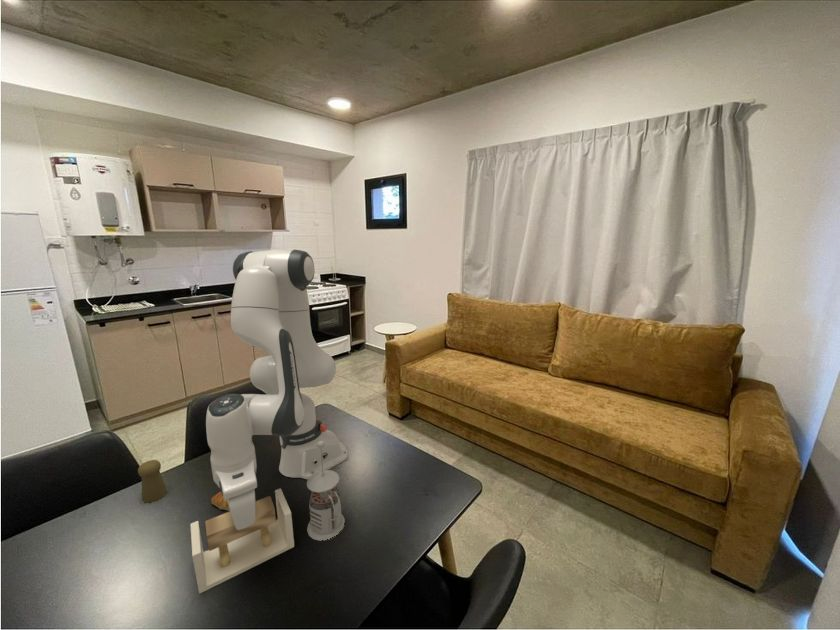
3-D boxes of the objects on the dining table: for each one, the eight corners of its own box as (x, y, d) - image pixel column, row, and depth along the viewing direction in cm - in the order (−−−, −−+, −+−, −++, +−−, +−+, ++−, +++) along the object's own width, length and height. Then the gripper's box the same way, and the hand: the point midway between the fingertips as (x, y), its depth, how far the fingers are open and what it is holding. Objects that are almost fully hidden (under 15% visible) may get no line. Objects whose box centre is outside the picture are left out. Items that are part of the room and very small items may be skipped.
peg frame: (283, 519, 92) (280, 488, 90) (294, 546, 84) (291, 512, 82) (196, 558, 81) (190, 523, 79) (199, 593, 73) (192, 556, 71)
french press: (333, 504, 98) (328, 426, 92) (356, 529, 90) (352, 444, 84) (300, 524, 91) (293, 441, 85) (322, 552, 83) (315, 462, 77)
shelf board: (271, 509, 87) (270, 495, 86) (276, 522, 83) (274, 508, 82) (207, 535, 79) (205, 521, 78) (209, 551, 75) (206, 536, 74)
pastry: (205, 510, 96) (204, 498, 95) (221, 493, 102) (220, 482, 101) (236, 513, 95) (235, 501, 94) (251, 495, 101) (249, 484, 100)
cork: (153, 505, 97) (147, 471, 95) (136, 501, 98) (129, 468, 96) (172, 490, 103) (166, 458, 100) (156, 487, 104) (149, 455, 102)
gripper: (214, 447, 84) (221, 496, 87) (224, 498, 67) (232, 555, 71) (242, 439, 87) (248, 486, 90) (258, 485, 71) (264, 540, 74)
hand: (241, 517), depth 80 cm, fingers closed on shelf board, 5 cm apart
